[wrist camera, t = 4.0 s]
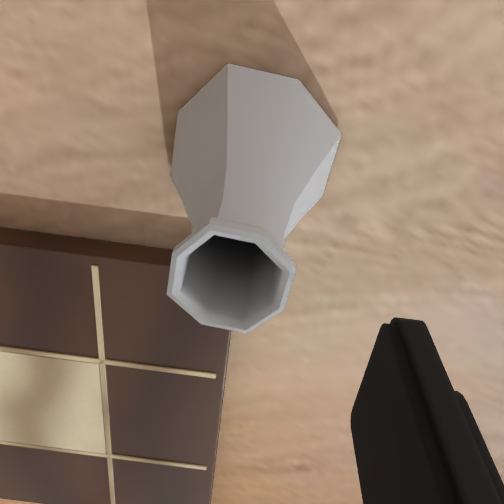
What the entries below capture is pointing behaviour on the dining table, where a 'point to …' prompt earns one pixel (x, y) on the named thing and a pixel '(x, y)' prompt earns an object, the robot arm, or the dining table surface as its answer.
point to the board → (103, 376)
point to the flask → (245, 193)
